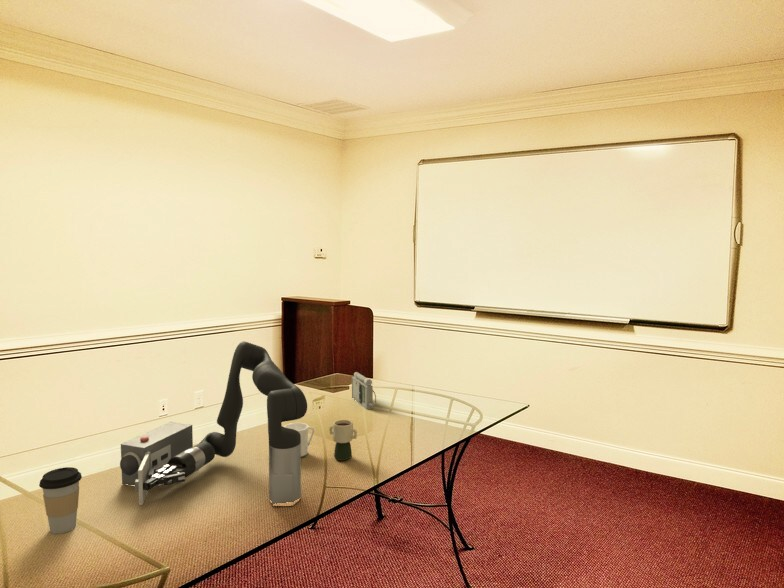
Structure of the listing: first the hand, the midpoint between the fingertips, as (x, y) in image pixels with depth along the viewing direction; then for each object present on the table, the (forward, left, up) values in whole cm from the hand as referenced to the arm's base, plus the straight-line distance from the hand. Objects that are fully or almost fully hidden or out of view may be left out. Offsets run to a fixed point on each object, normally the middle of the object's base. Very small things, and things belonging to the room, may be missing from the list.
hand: (145, 486), depth 148 cm
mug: (+38, -39, -7) cm, 55 cm away
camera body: (+23, +6, -6) cm, 25 cm away
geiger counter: (+97, -63, -7) cm, 116 cm away
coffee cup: (-10, +17, -7) cm, 21 cm away
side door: (+6, +3, -5) cm, 8 cm away
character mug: (+34, -55, -7) cm, 65 cm away
